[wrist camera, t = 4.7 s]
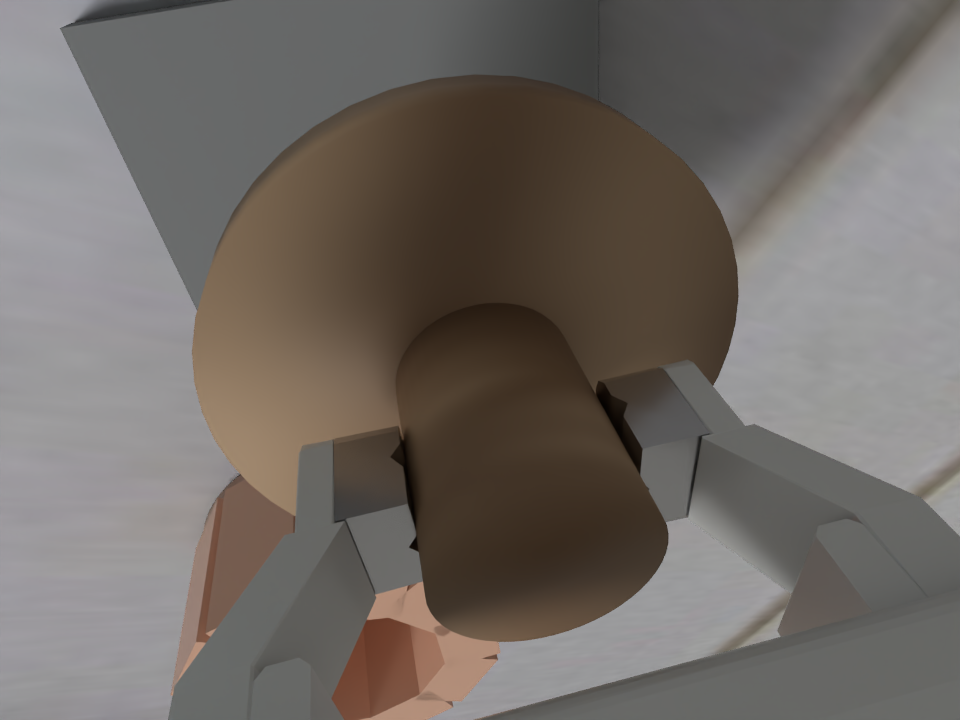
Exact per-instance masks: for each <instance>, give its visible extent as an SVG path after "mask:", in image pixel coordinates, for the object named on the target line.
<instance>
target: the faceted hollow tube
mask: <svg viewBox="0 0 960 720" xmlns="http://www.w3.org/2000/svg"><path fill="white" fill-rule="evenodd" d="M291 533H295V516H294V515H292V514H290V513H289V512H287V511H286V510H284V509H282V508H281V507H279V506H278V505H276V504H274V503H273V502H271V501H270V500H269V499H267V498H266V497H265V496H264V495H262V494H261V493H260V492H259V491H258V490H256V489H255V488H254V487H253V486H252V485H250V484H249V483H248V482H247V481H246V480H245V478H244V477H243V476H242V475H240V476H238V477H237V478H236V479H235V480H234V481H232V482H231V483H230V484H229V485H228V486H227V487H226V488H225V489H224V490H223V491H222V493H221V494H220V495H219V496H218V497H217V499H216V500H215V502H214V504H213V505H212V507H211V509H210V510H209V513H208V516H207V518H206V521H205V525H204V531H203V533H202V535H201V538H200V540H199V542H198V545H197V547H196V551H195V556H194V562H193V568H192V574H191V580H190V585H189V591H188V597H187V603H186V609H185V614H184V620H183V626H182V632H181V638H180V643H179V649H178V655H177V661H176V667H175V672H174V678H173V684H172V690H171V695H173V692H174V687H175V685H176V683H177V682H178V681H179V679H180V678H181V677H182V675H183V674H184V672H185V671H186V670H187V668H188V667H189V666H190V664H191V663H192V661H193V660H194V659H195V657H196V656H197V655H198V653H199V652H200V651H201V649H202V648H203V646H204V645H205V644H206V642H207V641H208V640H209V638H210V637H211V635H212V634H213V633H214V631H215V630H216V629H217V627H218V626H219V624H220V623H221V622H222V620H223V619H224V618H225V616H226V615H227V613H228V612H229V611H230V609H231V608H232V607H233V605H234V604H235V602H236V601H237V600H238V598H239V597H240V596H241V594H242V593H243V591H244V590H245V589H246V587H247V586H248V585H249V583H250V582H251V580H252V579H253V578H254V576H255V575H256V574H257V572H258V571H259V569H260V568H261V567H262V565H263V564H264V563H265V561H266V560H267V559H268V557H269V556H270V554H271V553H272V552H273V550H274V549H275V548H276V546H277V545H278V543H279V542H280V541H281V539H282V538H283V537H284V535H287V534H291ZM375 596H376V600H375V602H374V604H373V607H372V609H371V611H370V613H369V616H368V618H367V620H366V622H365V624H364V627H363V629H362V631H361V633H360V636H359V638H358V640H357V642H356V645H355V647H354V649H353V651H352V653H351V656H350V658H349V660H348V662H347V665H346V667H345V669H344V671H343V674H342V676H341V678H340V680H339V683H338V685H337V687H336V689H335V691H334V694H333V696H332V698H331V699H332V701H333V702H334V704H335V705H336V707H337V709H338V710H339V712H340V714H341V715H342V717H343V719H344V720H427V719H429V718H431V717H433V716H435V715H438V714H440V713H442V712H444V711H446V710H448V709H450V708H452V707H453V703H452V701H462V700H463V699H464V698H465V697H466V696H467V694H468V693H469V692H470V691H471V690H472V689H473V688H474V686H475V685H476V684H477V683H478V682H479V681H480V680H481V678H482V677H483V676H484V675H485V674H486V673H487V672H488V670H489V669H490V668H491V667H492V666H493V665H494V664H495V662H496V661H497V660H498V658H497V654H498V653H500V648H499V643H498V642H495V641H484V640H477V639H472V638H469V637H465V636H462V635H459V634H457V633H454V632H452V631H450V630H449V629H447V628H445V627H444V626H443V625H441V624H440V623H439V622H438V621H437V620H436V619H435V618H434V617H433V615H432V614H431V613H430V611H429V608H428V606H427V604H426V598H425V593H424V586H423V582H419V583H416V584H412V585H409V586H405V587H401V588H398V589H394V590H391V591H387V592H383V593H380V594H376V595H375Z"/></svg>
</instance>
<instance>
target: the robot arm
mask: <svg viewBox="0 0 960 720" xmlns="http://www.w3.org/2000/svg"><path fill="white" fill-rule="evenodd" d="M596 396H597V397H598V399H599V401H600V403H601V405H602V407H603V408H604V410H605V412H606V414H607V416H608V417H609V419H610V421H611V423H612V425H613V427H614V428H615V430H616V432H617V434H618V436H619V438H620V439H621V441H622V443H623V445H624V447H625V449H626V450H627V452H628V454H629V456H630V458H631V459H632V461H633V463H634V465H635V467H636V469H637V470H638V472H639V474H640V476H641V478H642V480H643V481H644V483H645V485H646V487H647V489H648V491H649V492H650V494H651V496H652V498H653V500H654V501H655V503H656V505H657V507H658V509H659V511H660V512H661V514H662V516H663V518H664V520H665V522H668V521H673V520H677V519H682V518H687V517H688V520H689V521H690V522H692V523H693V524H694V525H696V526H697V527H699V528H700V529H701V530H703V531H704V532H706V533H707V534H708V535H710V536H711V537H712V538H714V539H715V540H717V541H718V542H719V543H721V544H722V545H724V546H725V547H726V548H728V549H729V550H731V551H732V552H733V553H735V554H736V555H738V556H739V557H740V558H742V559H743V560H745V561H746V562H747V563H749V564H750V565H752V566H753V567H754V568H756V569H757V570H759V571H760V572H761V573H763V574H764V575H766V576H767V577H768V578H770V579H771V580H773V581H774V582H775V583H777V584H778V585H780V586H781V587H782V588H784V589H785V590H787V591H788V592H789V593H791V597H790V600H789V602H788V605H787V607H786V610H785V612H784V615H783V618H782V620H781V623H780V626H779V628H778V633H779V634H780V636H781V637H778V638H775V639H771V640H767V641H763V642H760V643H756V644H752V645H749V646H745V647H741V648H738V649H734V650H730V651H726V652H723V653H719V654H715V655H712V656H708V657H704V658H701V659H697V660H693V661H689V662H686V663H682V664H678V665H675V666H671V667H667V668H663V669H660V670H656V671H652V672H649V673H645V674H641V675H638V676H634V677H630V678H626V679H623V680H619V681H615V682H612V683H608V684H604V685H601V686H597V687H593V688H590V689H586V690H582V691H578V692H575V693H571V694H567V695H564V696H560V697H556V698H553V699H549V700H545V701H542V702H538V703H534V704H530V705H527V706H523V707H519V708H516V709H512V710H508V711H505V712H501V713H497V714H493V715H490V716H486V717H482V718H479V719H475V720H960V536H959V535H958V534H957V533H956V532H955V531H954V530H953V529H952V528H951V527H950V526H949V525H948V524H947V523H946V522H945V521H944V520H943V519H942V518H941V517H940V516H939V515H938V514H937V513H936V512H935V511H934V510H933V509H932V508H931V507H930V506H929V505H928V504H927V503H926V502H925V501H924V500H923V499H922V498H921V497H918V496H916V495H914V494H912V493H909V492H907V491H905V490H902V489H900V488H898V487H896V486H893V485H891V484H889V483H887V482H884V481H882V480H880V479H878V478H875V477H873V476H871V475H868V474H866V473H864V472H862V471H859V470H857V469H855V468H853V467H850V466H848V465H846V464H844V463H841V462H839V461H837V460H834V459H832V458H830V457H828V456H825V455H823V454H821V453H819V452H816V451H814V450H812V449H810V448H807V447H805V446H803V445H801V444H798V443H796V442H794V441H791V440H789V439H787V438H785V437H782V436H780V435H778V434H776V433H773V432H771V431H769V430H767V429H764V428H762V427H760V426H757V425H755V424H754V425H749V426H745V425H744V424H743V422H742V421H741V420H740V419H739V418H738V416H737V415H736V414H735V413H734V411H733V410H732V409H731V408H730V406H729V405H728V404H727V403H726V402H725V400H724V399H723V398H722V397H721V395H720V394H719V393H718V392H717V391H716V389H715V388H714V387H713V386H712V384H711V383H710V382H709V381H708V379H707V378H706V377H705V376H704V375H703V373H702V372H701V371H700V370H699V368H698V367H697V366H696V365H695V364H694V362H692V361H690V360H683V361H679V362H675V363H671V364H667V365H663V366H658V367H657V368H651V369H647V370H642V371H638V372H634V373H630V374H625V375H621V376H617V377H612V378H608V379H604V380H599V381H598V383H597V386H596ZM416 535H417V532H416V525H415V518H414V510H413V503H412V496H411V492H410V488H409V481H408V468H407V462H406V455H405V448H404V442H403V438H402V435H401V432H400V428H399V426H394V427H389V428H384V429H379V430H374V431H369V432H364V433H359V434H354V435H349V436H344V437H339V438H335V439H333V440H328V441H323V442H318V443H312V444H307V445H302V447H301V450H300V452H299V458H298V477H297V497H296V516H295V533H291V534H287V535H284V537H283V538H282V539H281V541H280V542H279V543H278V545H277V546H276V548H275V549H274V550H273V552H272V553H271V554H270V556H269V557H268V559H267V560H266V561H265V563H264V564H263V565H262V567H261V568H260V569H259V571H258V572H257V574H256V575H255V576H254V578H253V579H252V580H251V582H250V583H249V585H248V586H247V587H246V589H245V590H244V591H243V593H242V594H241V596H240V597H239V598H238V600H237V601H236V602H235V604H234V605H233V607H232V608H231V609H230V611H229V612H228V613H227V615H226V616H225V618H224V619H223V620H222V622H221V623H220V624H219V626H218V627H217V629H216V630H215V631H214V633H213V634H212V635H211V637H210V638H209V640H208V641H207V642H206V644H205V645H204V646H203V648H202V649H201V651H200V652H199V653H198V655H197V656H196V657H195V659H194V660H193V661H192V663H191V664H190V666H189V667H188V668H187V670H186V671H185V672H184V674H183V675H182V677H181V678H180V679H179V681H178V682H177V683H176V685H175V687H174V692H173V697H172V702H171V707H170V712H169V717H168V720H344V719H343V717H342V715H341V714H340V712H339V710H338V709H337V707H336V705H335V704H334V702H333V701H332V699H331V698H332V696H333V694H334V691H335V689H336V687H337V685H338V683H339V680H340V678H341V676H342V674H343V671H344V669H345V667H346V665H347V662H348V660H349V658H350V656H351V653H352V651H353V649H354V647H355V645H356V642H357V640H358V638H359V636H360V633H361V631H362V629H363V627H364V624H365V622H366V620H367V618H368V616H369V613H370V611H371V609H372V607H373V604H374V602H375V600H376V596H375V595H376V594H380V593H383V592H387V591H391V590H394V589H398V588H401V587H405V586H409V585H412V584H416V583H419V582H423V579H422V572H421V565H420V558H419V551H418V544H417V537H416Z"/></svg>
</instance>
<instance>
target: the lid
mask: <svg viewBox="0 0 960 720" xmlns="http://www.w3.org/2000/svg"><path fill="white" fill-rule="evenodd" d="M737 304H738V274H737V264H736V259H735V254H734V249H733V245H732V240H731V237H730V234H729V232H728V229H727V227H726V224H725V222H724V219H723V216H722V214H721V211H720V209H719V208H718V206H717V205H716V203H715V201H714V200H713V198H712V196H711V195H710V193H709V192H708V190H707V188H706V187H705V185H704V183H703V182H702V181H701V180H700V179H699V178H698V177H697V176H696V175H695V173H694V172H693V171H692V170H691V169H690V168H689V167H688V166H687V164H686V163H685V162H684V161H683V160H682V159H681V158H680V157H679V156H677V155H676V154H675V153H674V152H672V151H671V150H670V149H669V148H667V147H666V146H665V145H663V144H662V143H661V142H660V141H658V140H657V139H656V138H655V137H653V136H652V135H651V134H649V133H648V132H646V131H645V130H644V129H642V128H641V127H639V126H638V125H637V124H635V123H634V122H632V121H631V120H630V119H628V118H627V117H625V116H624V115H623V114H621V113H619V112H618V111H616V110H614V109H612V108H610V107H609V106H607V105H605V104H603V103H601V102H599V101H598V100H596V99H594V98H592V97H590V96H588V95H585V94H582V93H579V92H577V91H574V90H571V89H568V88H565V87H563V86H560V85H557V84H554V83H549V82H543V81H538V80H533V79H528V78H523V77H517V76H500V75H476V74H474V75H464V76H454V77H445V78H435V79H429V80H425V81H421V82H417V83H413V84H409V85H405V86H401V87H397V88H393V89H390V90H387V91H385V92H382V93H380V94H377V95H375V96H372V97H370V98H367V99H365V100H362V101H360V102H357V103H355V104H353V105H350V106H348V107H347V108H345V109H343V110H342V111H340V112H338V113H336V114H335V115H333V116H331V117H329V118H328V119H326V120H324V121H323V122H321V123H319V124H317V125H316V126H314V127H313V128H311V129H310V130H309V131H308V132H306V133H305V134H304V135H302V136H301V137H300V138H299V139H297V140H296V141H295V142H294V143H292V144H291V145H290V146H289V147H287V148H286V149H285V150H284V151H282V152H281V153H280V154H279V155H278V156H277V157H276V158H275V159H274V161H273V162H272V163H271V164H270V165H269V166H268V167H267V168H266V169H265V170H264V171H263V172H262V173H261V174H260V176H259V177H258V178H257V179H256V180H255V181H254V182H253V183H252V185H251V186H250V188H249V189H248V191H247V192H246V194H245V195H244V197H243V198H242V200H241V201H240V203H239V204H238V205H237V207H236V208H235V210H234V211H233V213H232V215H231V217H230V219H229V221H228V223H227V225H226V228H225V230H224V232H223V234H222V236H221V238H220V240H219V242H218V245H217V247H216V250H215V254H214V257H213V260H212V263H211V266H210V269H209V273H208V276H207V279H206V282H205V286H204V289H203V293H202V296H201V300H200V303H199V307H198V310H197V314H196V317H195V327H194V337H193V347H192V356H193V369H194V382H195V387H196V390H197V394H198V398H199V402H200V406H201V410H202V413H203V415H204V417H205V420H206V422H207V424H208V426H209V428H210V431H211V433H212V435H213V437H214V439H215V441H216V442H217V444H218V445H219V447H220V448H221V450H222V451H223V453H224V454H225V456H226V457H227V459H228V460H229V462H230V463H231V464H232V465H233V466H234V468H235V469H236V470H237V471H238V472H239V473H240V474H241V475H242V476H243V477H244V478H245V480H246V481H247V482H248V483H249V484H250V485H252V486H253V487H254V488H255V489H256V490H258V491H259V492H260V493H261V494H262V495H264V496H265V497H266V498H267V499H269V500H270V501H271V502H273V503H274V504H276V505H278V506H279V507H281V508H282V509H284V510H286V511H287V512H289V513H290V514H292V515H294V516H296V497H297V477H298V458H299V452H300V450H301V447H302V445H307V444H312V443H318V442H323V441H328V440H333V439H335V438H339V437H344V436H349V435H354V434H359V433H364V432H369V431H374V430H379V429H384V428H389V427H394V426H399V428H400V432H401V435H402V438H403V442H404V448H405V455H406V462H407V468H408V481H409V488H410V492H411V496H412V503H413V510H414V518H415V525H416V532H417V535H416V537H417V544H418V551H419V558H420V565H421V572H422V579H423V586H424V593H425V598H426V604H427V606H428V608H429V611H430V613H431V614H432V615H433V617H434V618H435V619H436V620H437V621H438V622H439V623H440V624H441V625H443V626H444V627H445V628H447V629H449V630H450V631H452V632H454V633H457V634H459V635H462V636H465V637H469V638H472V639H477V640H484V641H495V642H513V641H524V640H531V639H538V638H543V637H547V636H552V635H556V634H559V633H562V632H566V631H569V630H572V629H574V628H577V627H580V626H582V625H585V624H587V623H589V622H591V621H594V620H596V619H598V618H600V617H602V616H603V615H605V614H607V613H609V612H611V611H612V610H614V609H615V608H617V607H619V606H620V605H622V604H623V603H624V602H626V601H627V600H629V599H630V598H631V597H632V596H633V595H635V594H636V593H637V592H638V591H639V590H640V589H641V588H642V587H643V586H644V585H645V584H646V583H647V582H648V581H649V580H650V579H651V578H652V576H653V575H654V574H655V572H656V571H657V569H658V568H659V566H660V564H661V563H662V561H663V558H664V556H665V554H666V550H667V546H668V529H667V525H666V522H665V520H664V518H663V516H662V514H661V512H660V511H659V509H658V507H657V505H656V503H655V501H654V500H653V498H652V496H651V494H650V492H649V491H648V489H647V487H646V485H645V483H644V481H643V480H642V478H641V476H640V474H639V472H638V470H637V469H636V467H635V465H634V463H633V461H632V459H631V458H630V456H629V454H628V452H627V450H626V449H625V447H624V445H623V443H622V441H621V439H620V438H619V436H618V434H617V432H616V430H615V428H614V427H613V425H612V423H611V421H610V419H609V417H608V416H607V414H606V412H605V410H604V408H603V407H602V405H601V403H600V401H599V399H598V397H597V396H596V386H597V383H598V381H599V380H604V379H608V378H612V377H617V376H621V375H625V374H630V373H634V372H638V371H642V370H647V369H651V368H657V367H658V366H663V365H667V364H671V363H675V362H679V361H683V360H690V361H692V362H694V364H695V365H696V366H697V367H698V368H699V370H700V371H701V372H702V373H703V375H704V376H705V377H706V378H707V379H708V381H709V382H710V383H711V384H712V386H713V385H714V383H715V381H716V379H717V378H718V376H719V373H720V371H721V368H722V366H723V363H724V360H725V358H726V355H727V353H728V350H729V346H730V343H731V339H732V335H733V331H734V327H735V322H736V313H737Z"/></svg>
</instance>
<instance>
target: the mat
mask: <svg viewBox="0 0 960 720" xmlns="http://www.w3.org/2000/svg"><path fill="white" fill-rule="evenodd" d="M60 29H61V31H62V33H63V35H64V37H65V39H66V42H67V44H68V46H69V48H70V50H71V52H72V54H73V56H74V58H75V60H76V62H77V64H78V66H79V68H80V70H81V72H82V74H83V77H84V79H85V81H86V83H87V85H88V87H89V89H90V91H91V93H92V95H93V97H94V99H95V101H96V103H97V105H98V107H99V109H100V112H101V114H102V116H103V118H104V120H105V122H106V124H107V126H108V128H109V130H110V132H111V134H112V136H113V138H114V140H115V142H116V144H117V147H118V149H119V151H120V153H121V155H122V157H123V159H124V161H125V163H126V165H127V167H128V169H129V171H130V173H131V175H132V177H133V179H134V182H135V184H136V186H137V188H138V190H139V192H140V194H141V196H142V198H143V200H144V202H145V204H146V206H147V208H148V210H149V212H150V214H151V217H152V219H153V221H154V223H155V225H156V227H157V229H158V231H159V233H160V235H161V237H162V239H163V241H164V243H165V245H166V247H167V249H168V252H169V254H170V256H171V258H172V260H173V262H174V264H175V266H176V268H177V270H178V272H179V274H180V276H181V278H182V280H183V282H184V284H185V287H186V289H187V291H188V293H189V295H190V297H191V299H192V301H193V303H194V305H195V307H196V309H197V310H198V307H199V303H200V300H201V296H202V293H203V289H204V286H205V282H206V279H207V276H208V273H209V269H210V266H211V263H212V260H213V257H214V254H215V250H216V247H217V245H218V242H219V240H220V238H221V236H222V234H223V232H224V230H225V228H226V225H227V223H228V221H229V219H230V217H231V215H232V213H233V211H234V210H235V208H236V207H237V205H238V204H239V203H240V201H241V200H242V198H243V197H244V195H245V194H246V192H247V191H248V189H249V188H250V186H251V185H252V183H253V182H254V181H255V180H256V179H257V178H258V177H259V176H260V174H261V173H262V172H263V171H264V170H265V169H266V168H267V167H268V166H269V165H270V164H271V163H272V162H273V161H274V159H275V158H276V157H277V156H278V155H279V154H280V153H281V152H282V151H284V150H285V149H286V148H287V147H289V146H290V145H291V144H292V143H294V142H295V141H296V140H297V139H299V138H300V137H301V136H302V135H304V134H305V133H306V132H308V131H309V130H310V129H311V128H313V127H314V126H316V125H317V124H319V123H321V122H323V121H324V120H326V119H328V118H329V117H331V116H333V115H335V114H336V113H338V112H340V111H342V110H343V109H345V108H347V107H348V106H350V105H353V104H355V103H357V102H360V101H362V100H365V99H367V98H370V97H372V96H375V95H377V94H380V93H382V92H385V91H387V90H390V89H393V88H397V87H401V86H405V85H409V84H413V83H417V82H421V81H425V80H429V79H435V78H445V77H454V76H464V75H474V74H476V75H500V76H517V77H523V78H528V79H533V80H538V81H543V82H549V83H554V84H557V85H560V86H563V87H565V88H568V89H571V90H574V91H577V92H579V93H582V94H585V95H588V96H590V97H592V98H594V99H596V100H598V74H599V0H211V1H205V2H199V3H192V4H186V5H180V6H174V7H168V8H162V9H155V10H149V11H143V12H137V13H131V14H125V15H118V16H112V17H106V18H100V19H94V20H88V21H81V22H75V23H71V24H69V25H66V26H64V27H62V28H60Z"/></svg>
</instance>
